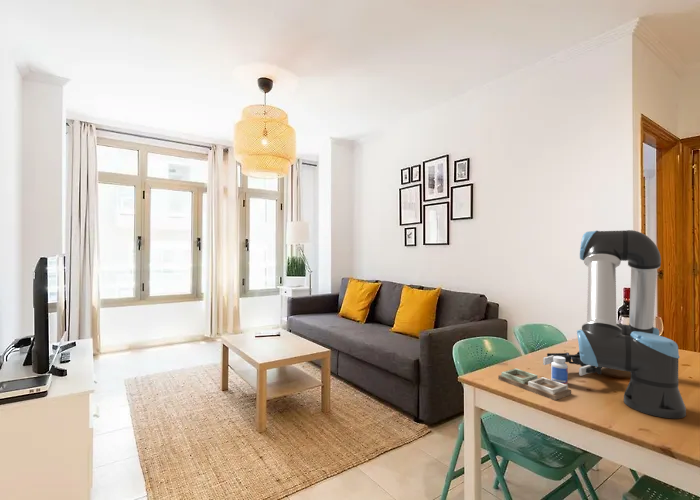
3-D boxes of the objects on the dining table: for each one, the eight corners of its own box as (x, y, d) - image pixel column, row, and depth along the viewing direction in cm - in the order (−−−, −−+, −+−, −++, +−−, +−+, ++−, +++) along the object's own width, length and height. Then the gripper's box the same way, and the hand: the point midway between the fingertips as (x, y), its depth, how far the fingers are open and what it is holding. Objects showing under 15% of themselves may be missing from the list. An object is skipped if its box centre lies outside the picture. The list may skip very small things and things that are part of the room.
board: (571, 394, 124) (571, 385, 124) (555, 400, 119) (555, 391, 119) (514, 374, 143) (514, 367, 143) (498, 379, 138) (498, 371, 138)
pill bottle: (570, 386, 131) (570, 360, 131) (554, 385, 132) (554, 359, 132) (564, 381, 137) (564, 355, 137) (549, 379, 138) (549, 354, 138)
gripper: (625, 376, 136) (597, 387, 125) (559, 358, 158) (530, 366, 147) (625, 356, 136) (597, 366, 125) (559, 341, 158) (530, 348, 147)
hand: (561, 366), depth 136 cm, fingers open, 13 cm apart
